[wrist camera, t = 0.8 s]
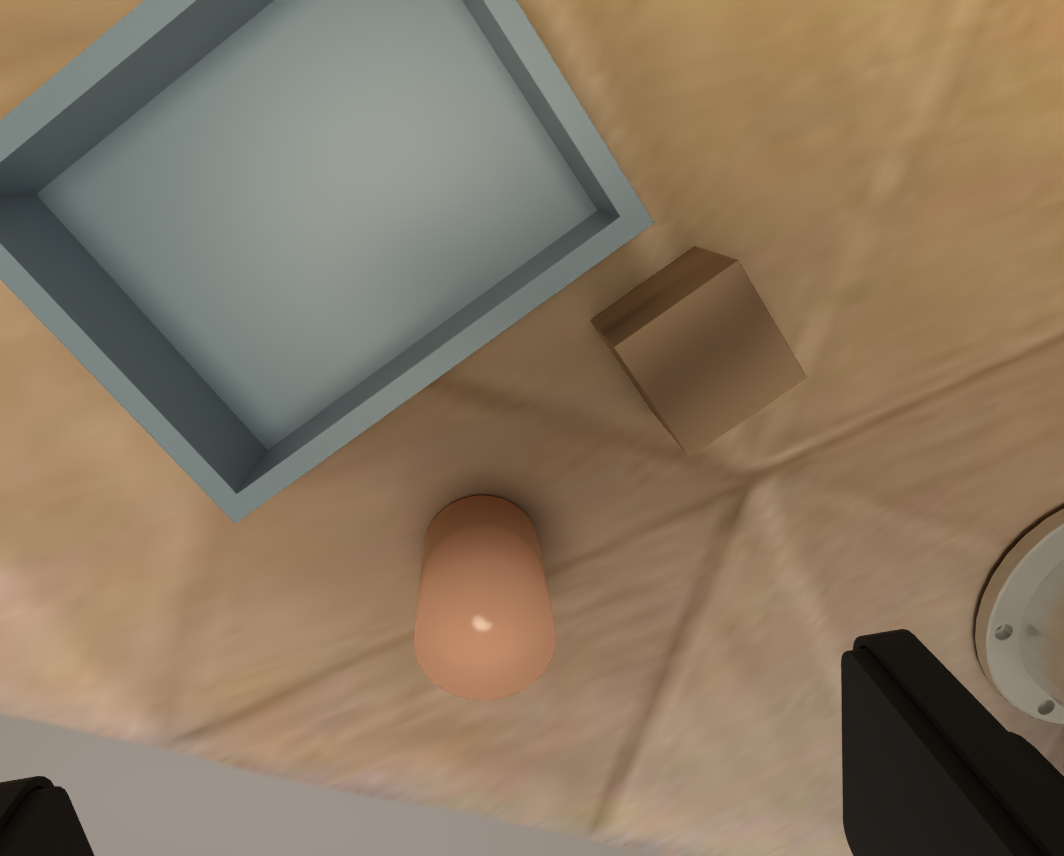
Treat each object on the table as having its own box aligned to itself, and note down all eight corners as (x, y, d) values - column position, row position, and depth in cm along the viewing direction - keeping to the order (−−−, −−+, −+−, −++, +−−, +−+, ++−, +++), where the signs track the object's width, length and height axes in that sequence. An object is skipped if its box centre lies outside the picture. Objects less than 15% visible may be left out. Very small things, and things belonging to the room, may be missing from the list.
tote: (623, 214, 29) (654, 222, 25) (269, 470, 31) (234, 523, 27) (402, -134, 25) (389, -205, 20) (10, 188, 27) (-85, 191, 22)
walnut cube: (755, 347, 32) (807, 377, 27) (655, 415, 32) (688, 457, 27) (694, 246, 30) (738, 260, 25) (590, 320, 31) (614, 347, 26)
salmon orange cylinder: (560, 557, 34) (583, 650, 27) (469, 617, 34) (470, 723, 28) (493, 473, 32) (501, 551, 26) (400, 538, 33) (384, 630, 26)
